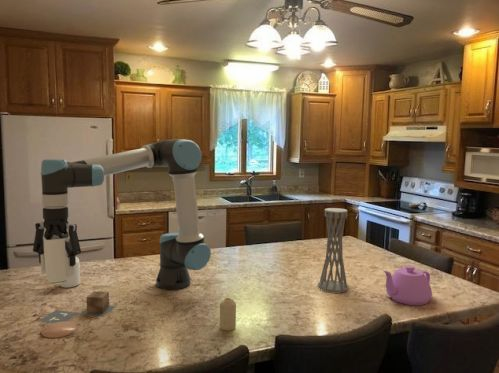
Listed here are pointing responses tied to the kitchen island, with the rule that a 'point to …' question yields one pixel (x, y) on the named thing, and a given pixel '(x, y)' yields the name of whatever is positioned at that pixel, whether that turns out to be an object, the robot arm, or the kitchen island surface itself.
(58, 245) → the cup
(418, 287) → the teapot
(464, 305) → the kitchen island surface
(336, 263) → the grey lattice tower
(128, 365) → the kitchen island surface
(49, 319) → the code tile
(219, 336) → the kitchen island surface
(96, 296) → the walnut block
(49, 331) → the salmon round part
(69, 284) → the beverage can
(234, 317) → the candle
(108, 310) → the code tile
